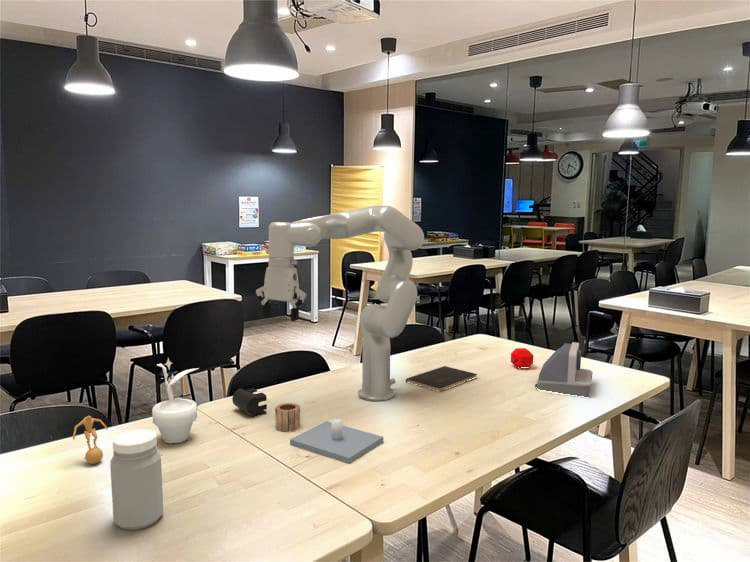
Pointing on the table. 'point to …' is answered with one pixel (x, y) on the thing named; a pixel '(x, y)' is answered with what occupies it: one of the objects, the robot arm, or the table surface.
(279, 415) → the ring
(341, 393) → the table surface
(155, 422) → the potted plant
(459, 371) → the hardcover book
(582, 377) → the grey angular piece
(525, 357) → the ball
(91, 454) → the figurine
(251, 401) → the end cap
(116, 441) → the jar
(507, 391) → the table surface
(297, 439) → the post stand
